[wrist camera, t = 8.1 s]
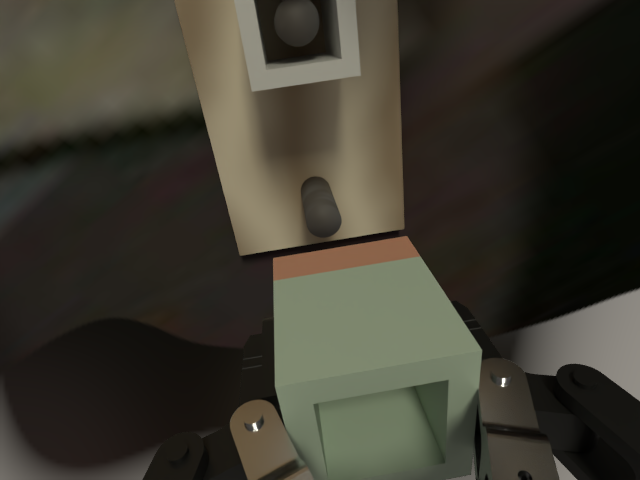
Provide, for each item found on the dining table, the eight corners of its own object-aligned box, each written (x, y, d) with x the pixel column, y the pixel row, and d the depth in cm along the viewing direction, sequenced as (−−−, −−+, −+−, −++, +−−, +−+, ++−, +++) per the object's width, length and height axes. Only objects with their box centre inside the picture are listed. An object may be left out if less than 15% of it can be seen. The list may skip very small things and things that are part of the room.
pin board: (389, -76, 22) (428, -112, 16) (399, 221, 30) (427, 264, 25) (166, -46, 21) (130, -72, 16) (241, 247, 30) (234, 296, 24)
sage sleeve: (406, 236, 15) (481, 350, 10) (409, 338, 17) (470, 474, 12) (273, 258, 15) (274, 386, 9) (294, 358, 17) (304, 505, 12)
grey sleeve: (331, -37, 21) (350, -59, 16) (340, 65, 24) (360, 75, 18) (237, -24, 21) (225, -42, 16) (256, 77, 23) (251, 91, 18)
